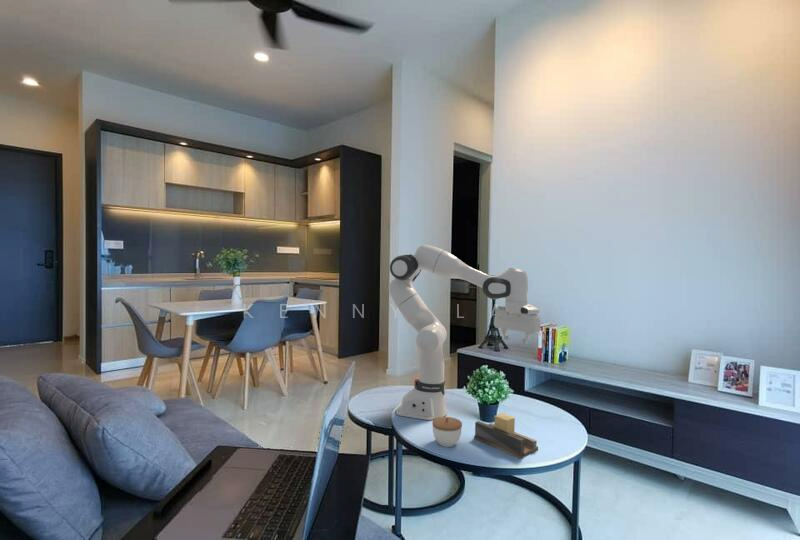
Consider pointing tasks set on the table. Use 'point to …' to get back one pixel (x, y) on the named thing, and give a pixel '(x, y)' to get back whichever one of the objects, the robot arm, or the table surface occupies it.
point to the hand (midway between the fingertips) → (515, 341)
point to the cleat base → (504, 440)
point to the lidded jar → (447, 430)
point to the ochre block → (505, 423)
